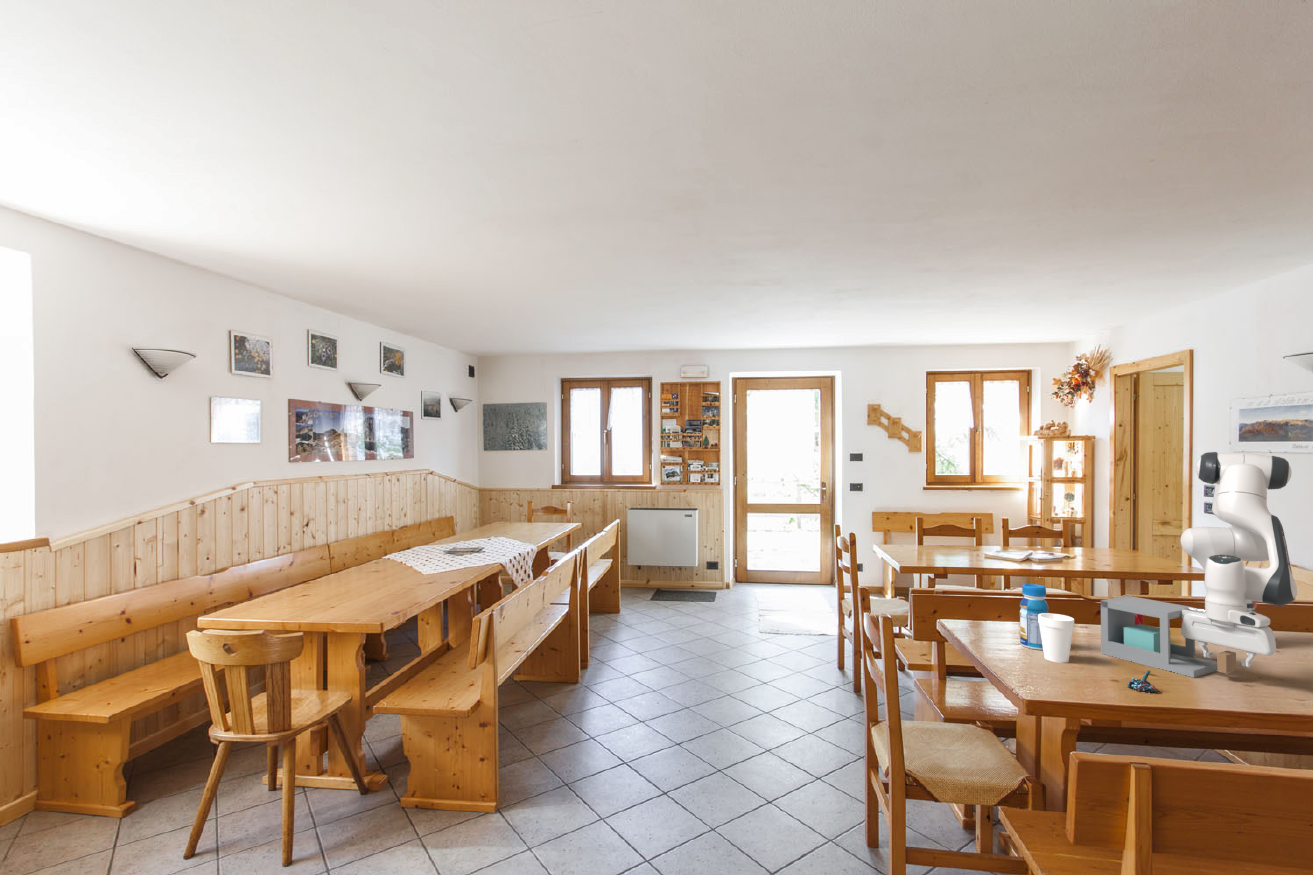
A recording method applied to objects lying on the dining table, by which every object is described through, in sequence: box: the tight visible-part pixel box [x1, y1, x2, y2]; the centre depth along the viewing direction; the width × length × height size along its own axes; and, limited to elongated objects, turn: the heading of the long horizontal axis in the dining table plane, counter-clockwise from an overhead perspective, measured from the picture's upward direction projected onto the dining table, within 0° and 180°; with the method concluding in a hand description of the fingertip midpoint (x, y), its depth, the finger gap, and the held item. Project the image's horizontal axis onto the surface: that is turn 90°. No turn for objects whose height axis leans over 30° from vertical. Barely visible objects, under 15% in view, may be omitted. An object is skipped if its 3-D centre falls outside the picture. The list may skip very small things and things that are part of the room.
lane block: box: [1124, 624, 1237, 674], centre depth 186 cm, size 10×24×7 cm, turn 27°
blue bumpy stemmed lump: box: [1127, 670, 1162, 694], centre depth 167 cm, size 8×7×8 cm
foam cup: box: [1038, 612, 1075, 664], centre depth 192 cm, size 10×9×13 cm
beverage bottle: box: [1019, 583, 1049, 651], centre depth 205 cm, size 8×8×20 cm
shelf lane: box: [1100, 595, 1218, 678], centre depth 191 cm, size 16×24×17 cm, turn 27°
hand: (1226, 662), depth 176 cm, fingers open, 7 cm apart
